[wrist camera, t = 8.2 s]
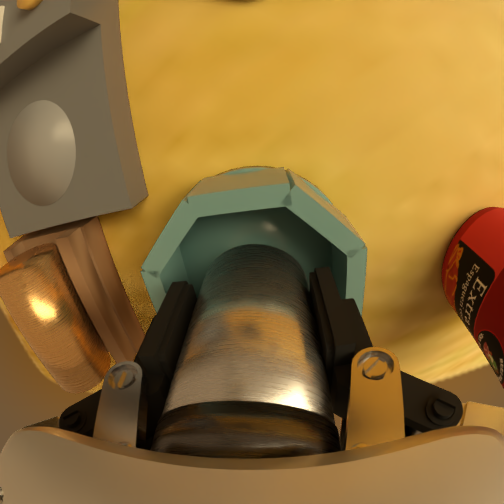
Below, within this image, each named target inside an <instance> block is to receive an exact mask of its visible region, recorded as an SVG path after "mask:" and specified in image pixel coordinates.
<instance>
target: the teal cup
mask: <svg viewBox="0 0 504 504" xmlns="http://www.w3.org/2000/svg"><path fill="white" fill-rule="evenodd" d="M246 244H264V245H269V246H273V247H276V248H279V249H281V250H283V251H285V252H286V253H288V254H290V255H291V256H292V257H293V258H295V259H296V260H297V262H298V263H299V264H300V265H301V267H302V268H303V270H304V272H305V274H306V277H307V281H308V285H309V289H310V283H309V273H310V272H314V268H320V267H329V268H330V270H331V273H332V275H333V278H334V281H335V284H336V286H337V289H338V292H339V295H340V297H341V299H348V298H353V299H354V300H355V302H356V304H357V307H358V309H359V312H360V314H361V316H362V308H363V298H364V288H365V276H366V262H367V247H366V246H365V243H364V241H363V240H362V238H361V237H360V235H359V234H358V233H357V231H356V230H355V228H354V227H353V226H352V224H351V223H350V222H349V220H348V219H347V217H346V216H345V215H344V214H343V213H341V212H340V211H339V210H338V209H337V208H336V207H334V206H333V204H332V203H331V202H330V200H329V199H328V198H327V197H326V195H325V194H324V193H323V192H322V191H321V190H320V189H318V188H317V187H316V186H315V185H313V184H312V183H311V182H309V181H308V180H306V179H305V178H303V177H301V176H299V175H297V174H295V173H293V172H292V171H291V170H289V169H287V171H286V170H284V167H281V168H274V167H267V166H247V167H240V168H236V169H231V170H228V171H225V172H223V173H220V174H218V175H216V176H213V177H207V178H204V179H203V180H202V181H201V180H200V181H199V182H198V184H197V185H196V186H195V187H194V188H193V189H192V190H191V191H190V192H189V193H188V194H187V195H186V196H185V198H184V199H183V200H182V201H181V203H180V204H179V206H178V207H177V209H176V210H175V212H174V214H173V215H172V217H171V218H170V220H169V222H168V223H167V225H166V226H165V228H164V230H163V231H162V233H161V234H160V236H159V238H158V239H157V241H156V243H155V244H154V246H153V248H152V249H151V251H150V253H149V255H148V256H147V258H146V260H145V262H144V263H143V265H142V267H141V268H142V271H141V274H142V277H143V280H144V283H145V285H146V288H147V290H148V293H149V296H150V298H151V301H152V303H153V306H154V308H155V311H156V313H158V310H159V308H160V306H161V304H162V302H163V300H164V298H165V296H166V294H167V292H168V290H169V288H170V286H171V284H172V282H178V281H187V282H188V284H192V285H193V287H194V290H195V294H196V297H197V299H198V296H199V293H200V290H201V287H202V284H203V281H204V278H205V275H206V272H207V270H208V268H209V266H210V265H211V263H212V262H213V261H214V260H215V259H216V258H217V257H218V256H220V255H221V254H222V253H224V252H225V251H227V250H229V249H232V248H234V247H237V246H241V245H246Z"/></svg>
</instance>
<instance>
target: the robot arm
mask: <svg viewBox="0 0 504 504" xmlns="http://www.w3.org/2000/svg"><path fill="white" fill-rule="evenodd" d="M309 283H310V295H311V300H312V305H313V309H314V314H315V319H316V324H317V329H318V334H319V339H320V344H321V349H322V354H323V360H324V365H325V370H326V374H327V379H328V384H329V390H330V396H331V402H332V408H333V413H334V414H336V415H338V416H339V417H341V425H340V434H339V440H340V447H341V451H339V452H332V453H325V454H317V455H309V456H298V457H285V458H262V459H232V458H210V457H197V456H186V455H178V454H170V453H163V452H156V451H150V449H151V446H152V442H153V438H154V435H155V431H156V427H157V424H158V421H159V419H160V417H161V416H162V414H163V410H164V406H165V403H166V399H167V396H168V392H169V389H170V386H171V382H172V379H173V375H174V372H175V369H176V365H177V362H178V359H179V355H180V352H181V349H182V346H183V342H184V339H185V336H186V333H187V330H188V326H189V323H190V320H191V317H192V314H193V311H194V308H195V305H196V302H197V297H196V294H195V290H194V287H193V285H192V284H188V282H187V281H178V282H172V284H171V286H170V288H169V290H168V292H167V294H166V296H165V298H164V300H163V302H162V304H161V306H160V308H159V310H158V313H157V315H156V316H154V318H153V320H152V322H151V324H150V326H149V328H148V330H147V333H146V335H145V337H144V339H143V341H142V344H141V346H140V348H139V350H138V353H137V355H136V357H135V359H134V362H132V361H124V362H120V363H118V364H116V365H114V366H113V367H112V368H110V369H109V371H108V372H107V373H106V376H105V378H104V382H103V387H102V389H101V390H99V391H97V392H95V393H94V394H92V395H90V396H88V397H86V398H85V399H83V400H81V401H79V402H77V403H75V404H74V405H72V406H70V407H68V408H67V409H66V410H65V411H64V412H63V413H62V414H61V417H60V418H59V417H58V416H56V417H53V418H50V419H48V420H44V421H42V422H38V423H35V424H32V425H29V426H26V427H24V428H22V429H20V430H18V431H16V432H15V433H13V435H12V436H11V437H10V438H9V440H8V441H7V443H6V444H5V446H4V448H3V450H2V452H1V454H0V504H504V408H501V407H495V406H490V405H485V404H480V403H475V402H470V401H468V402H467V403H466V404H464V403H461V401H460V400H459V398H458V397H457V396H456V395H454V394H453V393H451V392H449V391H446V390H444V389H442V388H439V387H437V386H435V385H432V384H430V383H428V382H425V381H423V380H421V379H418V378H416V377H414V376H411V375H409V374H407V373H405V372H402V371H400V365H399V361H398V358H397V357H396V356H395V355H394V353H392V352H391V351H389V350H387V349H385V348H381V347H373V346H372V343H371V340H370V338H369V335H368V332H367V330H366V327H365V324H364V322H363V319H362V317H361V314H360V312H359V309H358V307H357V304H356V302H355V300H354V299H353V298H348V299H341V297H340V295H339V292H338V289H337V286H336V284H335V281H334V278H333V275H332V273H331V270H330V268H329V267H320V268H314V272H310V273H309Z"/></svg>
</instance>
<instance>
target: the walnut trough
mask: <svg viewBox="0 0 504 504" xmlns="http://www.w3.org/2000/svg"><path fill="white" fill-rule="evenodd" d="M46 243H54V244H55V246H56V248H57V251H58V254H59V256H60V258H61V261H62V263H63V266H64V268H65V270H66V273H67V275H68V277H69V279H70V282H71V284H72V286H73V288H74V290H75V292H76V294H77V296H78V299H79V301H80V303H81V305H82V307H83V308H84V310H85V312H86V314H87V316H88V318H89V320H90V322H91V324H92V325H93V327H94V329H95V331H96V333H97V334H98V336H99V338H100V340H101V341H102V343H103V345H104V346H105V348H106V350H107V351H108V352H110V354H111V355H112V357H113V358H114V360H115V362H116V363H117V364H118V363H120V362H124V361H132V362H133V360H134V357H135V355H136V353H138V350H139V348H140V346H141V344H142V341H143V339H144V337H145V334H144V332H143V330H142V328H141V326H140V324H139V321H138V319H137V317H136V315H135V313H134V311H133V308H132V306H131V304H130V301H129V299H128V297H127V295H126V292H125V290H124V287H123V285H122V282H121V280H120V277H119V275H118V272H117V270H116V267H115V265H114V262H113V259H112V257H111V254H110V251H109V248H108V246H107V243H106V240H105V237H104V234H103V231H102V228H101V225H100V222H99V218H98V216H93V217H89V218H85V219H80V220H76V221H72V222H68V223H64V224H60V225H56V226H52V227H48V228H45V229H41V230H37V231H34V232H30V233H27V234H25V235H24V236H23V237H21V238H20V239H18V240H17V241H16V242H14V243H13V245H11V246H10V247H9V248H7V249H6V250H5V251H3V252H4V254H5V257H6V259H7V262H9V261H10V260H12V259H13V258H15V257H16V256H18V255H20V254H21V253H23V252H25V251H27V250H29V249H31V248H34V247H36V246H39V245H42V244H46Z"/></svg>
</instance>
